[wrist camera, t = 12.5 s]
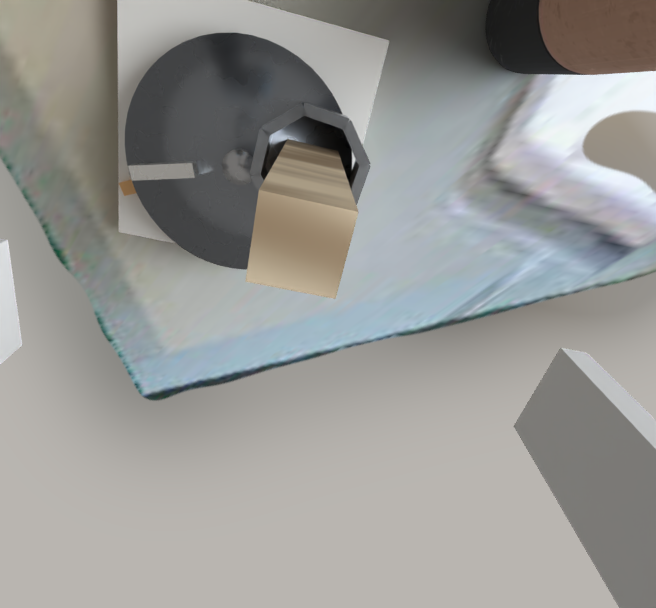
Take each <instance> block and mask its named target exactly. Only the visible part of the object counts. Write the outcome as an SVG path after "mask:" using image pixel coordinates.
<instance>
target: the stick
mask: <svg viewBox="0 0 656 608" xmlns="http://www.w3.org/2000/svg"><path fill="white" fill-rule="evenodd" d="M357 215H358V209H357V206H356V203H355V200H354V197H353V194H352V191H351V188H350V185H349V182H348V179H347V176H346V173H345V170H344V167H343V164H342V161H341V158H340V155H339V152H338V151H336V150H332V149H328V148H324V147H320V146H315V145H311V144H307V143H303V142H299V141H294V140H290V139H287V141H286V143H285V145H284V146H283V148H282V150H281V152H280V153H279V155H278V157H277V159H276V161H275V162H274V164H273V166H272V168H271V169H270V171H269V173H268V175H267V176H266V178H265V180H264V182H263V184H262V185H261V187H260V189H259V193H258V199H257V206H256V213H255V220H254V227H253V234H252V240H251V247H250V254H249V261H248V268H247V275H246V281H245V282H250V283H256V284H261V285H266V286H271V287H276V288H282V289H287V290H292V291H297V292H303V293H308V294H313V295H318V296H323V297H329V298H334V299H336V295H337V291H338V287H339V283H340V280H341V276H342V272H343V268H344V265H345V261H346V257H347V253H348V249H349V246H350V242H351V238H352V234H353V231H354V227H355V223H356V219H357Z"/></svg>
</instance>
